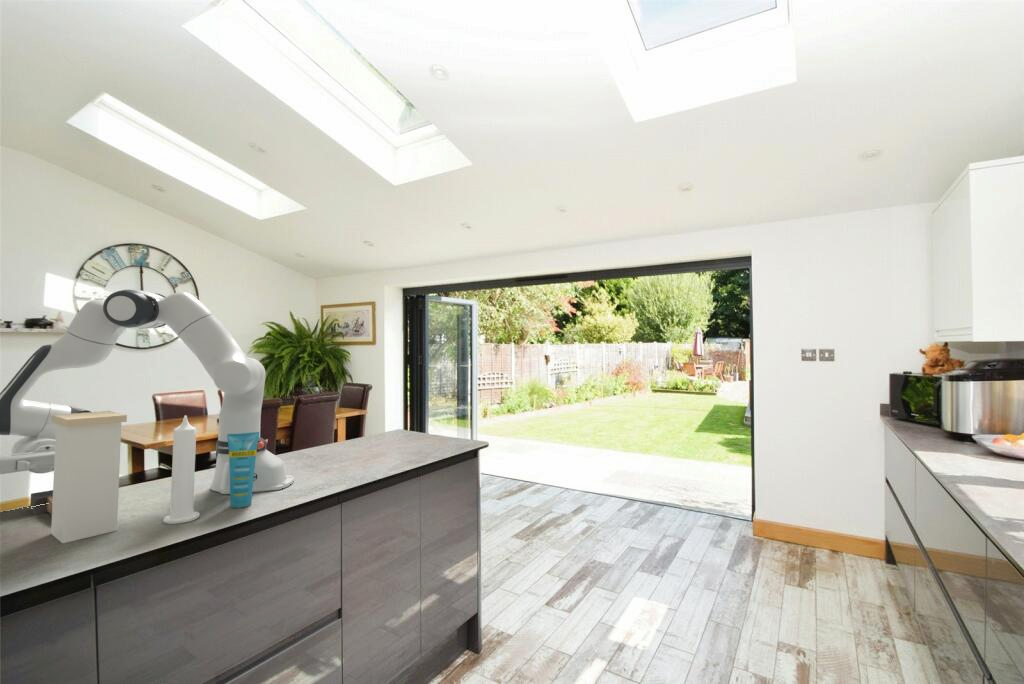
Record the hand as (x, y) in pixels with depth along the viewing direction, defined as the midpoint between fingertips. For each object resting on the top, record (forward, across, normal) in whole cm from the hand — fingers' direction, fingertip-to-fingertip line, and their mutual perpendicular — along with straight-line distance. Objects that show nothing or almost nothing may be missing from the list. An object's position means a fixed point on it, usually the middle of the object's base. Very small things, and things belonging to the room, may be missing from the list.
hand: (58, 463), depth 117 cm
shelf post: (+23, 0, +12) cm, 26 cm away
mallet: (+3, 0, +8) cm, 9 cm away
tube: (+32, +30, +12) cm, 45 cm away
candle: (+31, +16, +12) cm, 37 cm away
